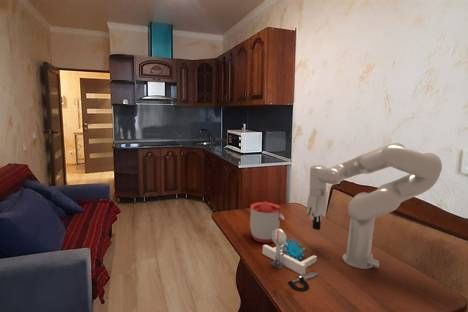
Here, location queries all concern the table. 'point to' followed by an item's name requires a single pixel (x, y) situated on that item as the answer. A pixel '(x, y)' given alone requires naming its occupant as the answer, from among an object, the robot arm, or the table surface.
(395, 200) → the robot arm
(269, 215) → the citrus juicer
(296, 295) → the table surface
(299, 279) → the micrometer
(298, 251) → the gear
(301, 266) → the white angled bar
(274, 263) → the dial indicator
